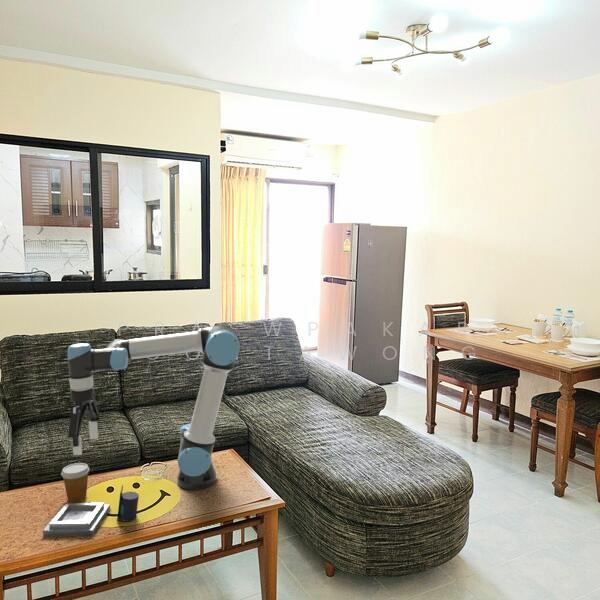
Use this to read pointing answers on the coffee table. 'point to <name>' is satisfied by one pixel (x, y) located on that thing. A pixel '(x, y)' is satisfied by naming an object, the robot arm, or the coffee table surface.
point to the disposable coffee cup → (75, 481)
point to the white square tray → (77, 519)
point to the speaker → (127, 506)
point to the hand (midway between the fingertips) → (86, 446)
